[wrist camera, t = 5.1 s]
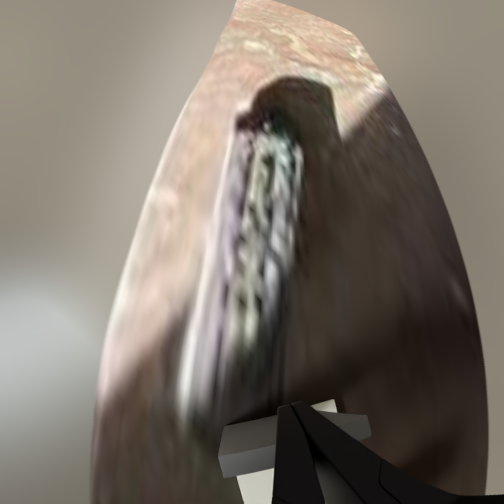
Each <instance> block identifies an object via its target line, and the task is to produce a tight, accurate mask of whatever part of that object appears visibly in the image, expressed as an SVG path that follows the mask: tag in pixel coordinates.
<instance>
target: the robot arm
mask: <svg viewBox="0 0 504 504" xmlns="http://www.w3.org/2000/svg"><path fill="white" fill-rule="evenodd" d="M271 504H504V494H502V495H480V496H464V495H457V494H453V493H449V492H447V491H444V490H442V489H440V488H437V487H435V486H433V485H430V484H428V483H426V482H424V481H421V480H419V479H417V478H415V477H413V476H411V475H409V474H407V473H405V472H403V471H402V470H400V469H398V468H397V467H395V466H393V465H392V464H390V463H389V462H387V461H386V460H385V459H381V457H380V456H378V455H377V454H376V453H374V452H373V451H371V450H370V449H368V448H367V447H366V446H364V445H363V444H361V443H360V442H358V441H357V440H356V439H354V438H353V437H352V436H350V435H349V434H347V433H346V432H345V431H343V430H342V429H341V428H339V427H338V426H337V425H335V424H334V423H333V422H331V421H330V420H329V419H327V418H326V417H325V416H323V415H322V414H321V413H319V412H318V411H317V410H315V409H314V408H313V407H312V406H310V405H309V404H308V403H306V402H305V401H298V402H295V403H292V404H291V405H290V404H287V405H283V406H280V407H278V409H277V428H276V445H275V461H274V476H273V490H272V502H271Z"/></svg>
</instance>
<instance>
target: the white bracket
mask: <svg viewBox="0 0 504 504" xmlns="http://www.w3.org/2000/svg"><path fill="white" fill-rule="evenodd" d="M311 406H312V407H313V408H314V409H315V410H317V411H318V412H319V413H321V414H322V415H323V416H325V417H326V418H327V419H329V420H330V421H331V422H333V423H334V424H335V425H337V426H338V427H339V428H341V429H342V430H343V431H345V432H346V433H347V434H349V435H350V436H352V437H353V438H354V439H356V440H357V441H361V440H363V439H366V438H368V437H371V436H372V434H371V430H370V426H369V422H368V418H367V415H356V414H345V413H337V409H336V405H335V402H334V399H331V400H328V401H324V402H321V403H318V404H315V405H311ZM276 428H277V415H274V416H270V417H266V418H261V419H257V420H252V421H248V422H243V423H238V424H233V425H228V426H224V429H223V434H222V439H221V444H220V449H219V454H218V458H219V462H220V466H221V469H222V473H223V477H224V478H229V477H234V476H237V479H238V483H239V487H240V490H241V494H242V497H243V501H244V504H271V502H272V490H273V476H274V461H275V445H276Z"/></svg>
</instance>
